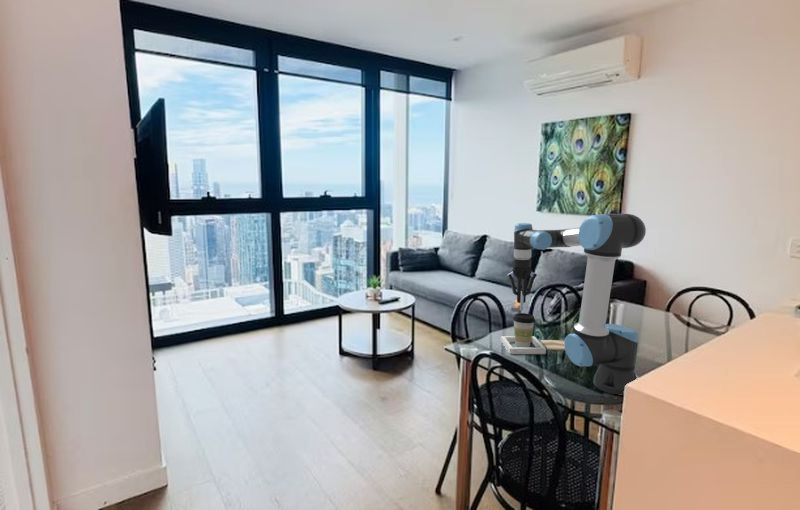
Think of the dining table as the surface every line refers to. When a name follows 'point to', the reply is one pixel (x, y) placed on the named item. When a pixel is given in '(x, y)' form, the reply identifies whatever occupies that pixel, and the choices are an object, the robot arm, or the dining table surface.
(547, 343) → the cork pad
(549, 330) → the dining table surface
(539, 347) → the white square frame
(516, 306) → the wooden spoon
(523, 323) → the coffee cup
